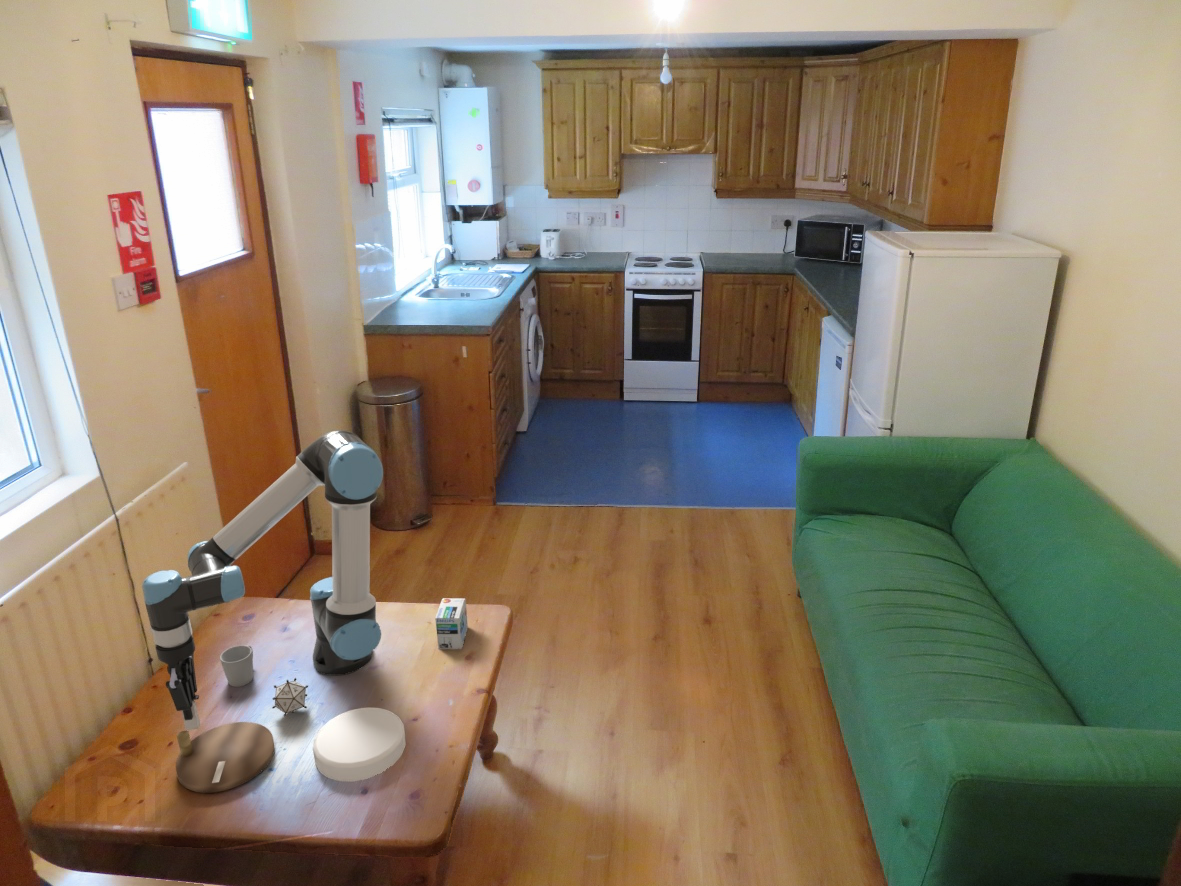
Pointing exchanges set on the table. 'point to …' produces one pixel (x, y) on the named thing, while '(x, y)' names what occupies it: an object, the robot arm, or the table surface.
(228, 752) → the turntable
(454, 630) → the light bulb box
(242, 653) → the cup
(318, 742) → the container
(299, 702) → the game die
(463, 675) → the table surface
